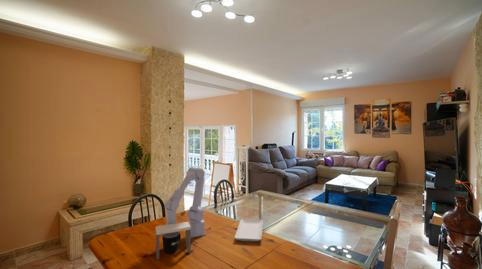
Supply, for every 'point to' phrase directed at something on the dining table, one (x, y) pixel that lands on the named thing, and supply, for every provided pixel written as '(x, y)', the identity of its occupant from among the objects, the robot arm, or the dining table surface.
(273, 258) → the dining table surface
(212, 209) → the dining table surface
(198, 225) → the robot arm
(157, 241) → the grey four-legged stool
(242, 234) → the tray
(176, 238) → the mug
